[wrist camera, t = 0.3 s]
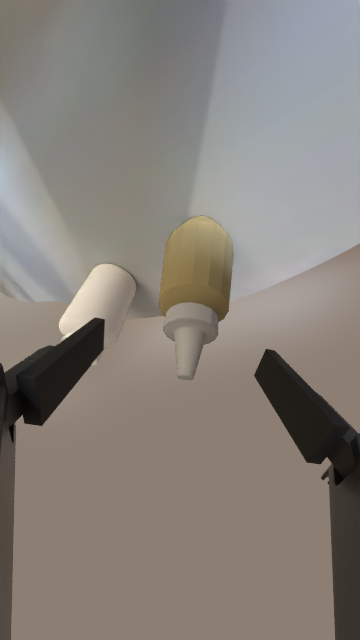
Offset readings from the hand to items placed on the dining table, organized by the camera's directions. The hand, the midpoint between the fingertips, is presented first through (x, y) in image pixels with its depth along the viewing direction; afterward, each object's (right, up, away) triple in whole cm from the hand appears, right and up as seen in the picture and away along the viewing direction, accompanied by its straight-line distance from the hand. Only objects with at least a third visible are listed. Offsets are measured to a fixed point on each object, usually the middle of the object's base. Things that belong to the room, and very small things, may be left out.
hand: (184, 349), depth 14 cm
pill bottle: (-12, +10, +17) cm, 23 cm away
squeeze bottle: (+2, +13, +9) cm, 16 cm away
